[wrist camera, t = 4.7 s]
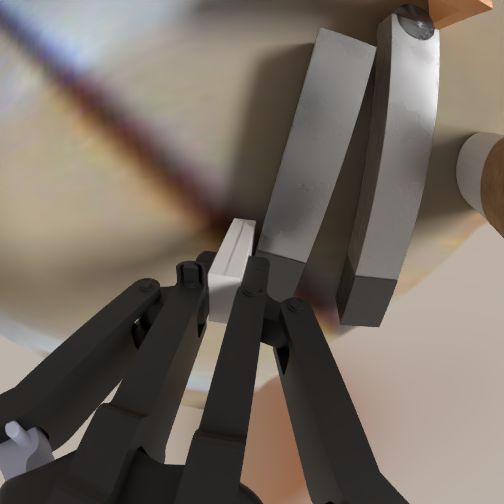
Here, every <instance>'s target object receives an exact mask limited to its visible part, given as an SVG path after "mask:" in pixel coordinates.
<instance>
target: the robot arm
mask: <svg viewBox="0 0 504 504" xmlns="http://www.w3.org/2000/svg"><path fill="white" fill-rule="evenodd" d="M255 229H256V221H255V220H246V219H237V218H234V220H233V222H232V224H231V226H230V228H229V230H228V232H227V234H226V236H225V238H224V240H223V243H222V245H221V247H220V249H219V251H218V252H210V251H204V252H203V253H201V254H200V255H199V256H198V257H197V259H196V261H184V262H181V263H179V264H178V265H177V266H176V271H177V283H176V285H175V286H170V287H160V284H159V282H158V281H157V280H155V279H151V278H144V279H140V280H138V281H136V282H135V283H133V284H132V285H131V286H130V287H128V288H127V289H126V290H125V291H124V292H122V293H121V294H120V295H119V296H117V297H116V298H115V299H114V300H113V301H111V302H110V303H109V304H108V305H106V306H105V307H104V308H103V309H102V310H100V311H99V312H98V313H97V314H96V315H95V316H93V317H92V318H91V319H90V320H89V321H87V322H86V323H85V324H84V325H83V326H82V327H80V328H79V329H78V330H77V331H76V332H75V333H74V334H72V335H71V336H70V337H69V338H68V339H67V340H66V341H64V342H63V343H62V344H61V345H60V346H59V347H58V348H57V349H55V350H54V351H53V352H52V353H51V354H50V355H49V356H48V357H47V358H45V359H44V360H43V361H42V362H41V363H40V364H39V365H38V366H37V367H36V368H35V369H34V370H32V371H31V372H30V373H29V374H28V375H27V376H26V377H25V378H24V379H23V380H22V381H21V382H20V383H19V384H18V385H17V386H16V387H14V388H12V389H10V390H8V391H6V392H4V393H2V394H0V469H1V471H2V474H3V476H4V479H5V481H6V482H5V483H4V484H3V485H2V487H1V488H0V504H263V503H262V501H261V500H260V499H259V497H258V496H257V495H256V494H255V493H254V492H253V491H252V490H251V489H249V488H248V487H247V486H245V485H244V484H242V483H240V477H241V471H242V465H243V459H244V452H245V446H246V439H247V432H248V425H249V419H250V412H251V406H252V398H253V392H254V385H255V378H256V371H257V363H258V356H259V349H260V342H262V343H265V344H268V345H270V346H273V351H274V355H275V359H276V363H277V367H278V371H279V375H280V379H281V384H282V388H283V392H284V395H285V399H286V404H287V408H288V412H289V416H290V420H291V424H292V428H293V432H294V436H295V440H296V444H297V448H298V452H299V456H300V460H301V464H302V468H303V472H304V476H305V480H306V484H307V488H308V491H309V495H310V497H311V501H312V503H313V504H409V503H408V502H407V501H406V500H405V499H404V498H403V496H402V495H401V494H400V493H399V492H398V491H397V490H396V489H395V488H394V487H393V486H392V485H391V484H390V483H389V481H388V480H387V479H386V478H385V477H384V476H383V475H382V474H381V473H380V471H379V468H378V466H377V463H376V461H375V458H374V456H373V453H372V450H371V448H370V445H369V443H368V440H367V437H366V435H365V432H364V430H363V427H362V425H361V422H360V420H359V418H358V415H357V413H356V410H355V407H354V405H353V403H352V400H351V398H350V395H349V393H348V391H347V388H346V386H345V383H344V381H343V379H342V376H341V374H340V372H339V369H338V367H337V365H336V362H335V360H334V358H333V355H332V353H331V351H330V348H329V346H328V344H327V341H326V339H325V337H324V335H323V332H322V330H321V328H320V325H319V323H318V321H317V319H316V316H315V314H314V312H313V310H312V308H311V306H310V304H309V303H308V302H306V301H305V300H303V299H300V298H287V299H285V300H283V301H282V302H279V301H276V300H274V299H273V298H271V297H270V296H269V295H268V293H267V285H268V276H269V268H270V262H269V260H268V259H267V258H265V257H257V256H253V252H254V240H255ZM208 314H209V321H213V322H220V323H226V324H227V327H226V331H225V334H224V338H223V342H222V345H221V349H220V353H219V356H218V360H217V364H216V367H215V371H214V375H213V378H212V382H211V386H210V389H209V393H208V397H207V401H206V404H205V408H204V412H203V415H202V419H201V423H200V426H199V429H197V430H196V431H195V433H194V435H193V438H192V441H191V445H190V449H189V452H188V456H187V460H186V463H185V465H170V464H164V462H165V449H166V444H167V441H168V438H169V435H170V432H171V429H172V426H173V423H174V420H175V417H176V414H177V411H178V408H179V405H180V402H181V399H182V396H183V394H184V391H185V388H186V385H187V382H188V379H189V376H190V373H191V370H192V367H193V365H194V362H195V359H196V356H197V353H198V350H199V347H200V345H201V342H202V339H203V336H204V333H205V331H206V326H207V323H206V319H207V316H208ZM137 319H138V321H137V322H136V323H134V322H135V321H136V320H137ZM122 379H123V380H122ZM121 380H122V382H121V384H120V386H119V388H118V389H117V391H116V394H115V396H114V397H113V399H112V401H111V402H110V403H103V404H101V403H102V402H103V401H104V399H105V398H106V397H107V396H108V395H109V394H110V393H111V391H112V390H113V389H114V388H115V387H116V386H117V385H118V384H119V382H120V381H121ZM100 404H101V405H100ZM99 405H100V406H99ZM98 406H99V407H98ZM97 407H98V409H97V410H96V408H97ZM95 410H96V412H95V414H94V416H93V418H92V420H91V422H90V424H89V426H88V428H87V430H86V432H85V434H84V436H83V438H82V440H81V442H80V444H79V446H78V448H77V450H75V451H73V452H71V453H69V454H67V455H64V456H62V457H60V458H58V459H56V460H54V456H53V455H52V452H53V451H55V450H56V449H58V448H59V447H60V446H62V445H63V444H64V443H66V442H67V441H68V440H69V439H70V438H71V437H72V436H73V435H74V433H75V432H76V431H77V430H78V429H79V428H80V427H81V426H82V424H83V423H84V422H85V421H86V420H87V419H88V417H89V416H90V415H91V414H92V413H93V412H94V411H95Z"/></svg>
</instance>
